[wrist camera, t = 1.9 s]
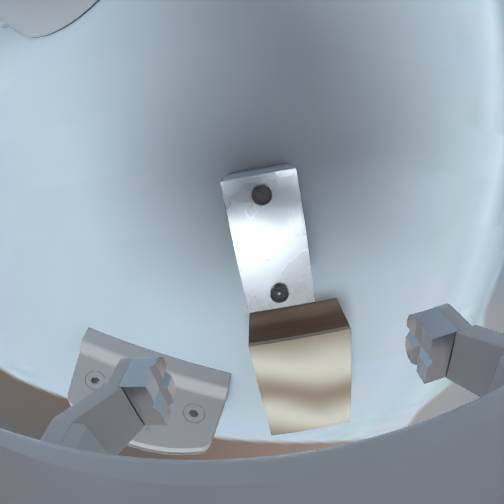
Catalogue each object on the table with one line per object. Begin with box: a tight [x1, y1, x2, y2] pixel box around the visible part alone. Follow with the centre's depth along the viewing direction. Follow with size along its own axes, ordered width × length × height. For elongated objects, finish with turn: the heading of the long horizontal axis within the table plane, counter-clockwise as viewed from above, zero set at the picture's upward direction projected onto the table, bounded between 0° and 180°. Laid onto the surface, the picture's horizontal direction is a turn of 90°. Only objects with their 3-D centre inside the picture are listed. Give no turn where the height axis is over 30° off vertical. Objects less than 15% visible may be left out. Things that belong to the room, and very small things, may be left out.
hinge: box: [68, 328, 231, 455], centre depth 27 cm, size 17×5×10 cm, turn 73°
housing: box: [220, 163, 315, 313], centre depth 22 cm, size 9×5×6 cm, turn 11°
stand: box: [249, 299, 351, 435], centre depth 27 cm, size 12×8×5 cm, turn 11°
